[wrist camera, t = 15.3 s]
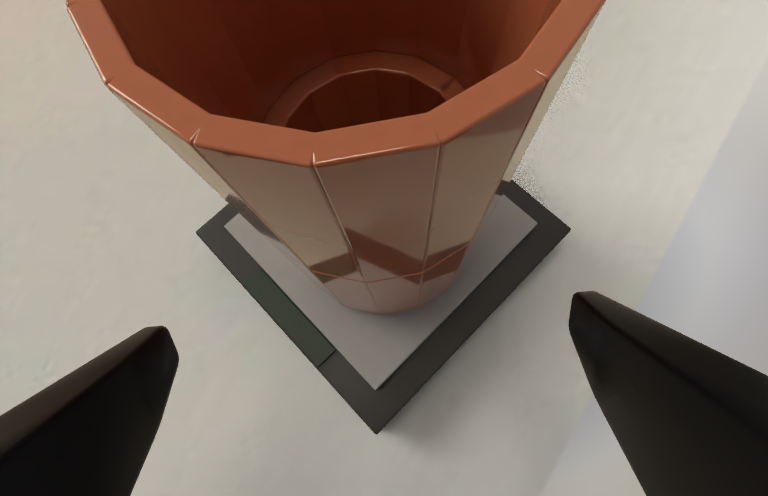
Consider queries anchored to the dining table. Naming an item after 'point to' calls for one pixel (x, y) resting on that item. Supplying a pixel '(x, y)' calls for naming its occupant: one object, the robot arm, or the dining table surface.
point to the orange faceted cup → (346, 119)
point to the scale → (394, 330)
